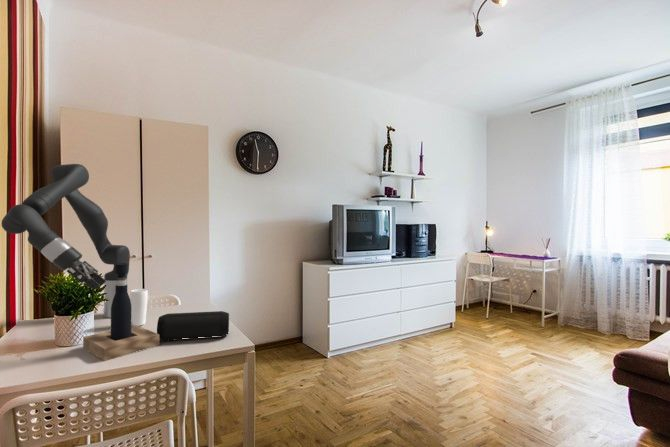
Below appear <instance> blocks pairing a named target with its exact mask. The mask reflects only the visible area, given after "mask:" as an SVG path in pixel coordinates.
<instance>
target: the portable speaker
mask: <svg viewBox="0 0 670 447" xmlns="http://www.w3.org/2000/svg"><path fill="white" fill-rule="evenodd" d="M229 331H230V313H229V312H225V311H222V310H218V311H216V310H215V311H197V312H196V311H195V312H179V313H177V312H176V313H175V312H173V313H166V314H163V315H160V316H159V317H158V319H157V324H156V333H157V334H159V340H163V341H175V340H174V339H182V338H198V337H212V336H223V335H225V336H227V335H229V333H228V332H229ZM226 334H227V335H226ZM223 337H224V336H223Z"/></svg>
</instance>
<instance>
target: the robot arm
mask: <svg viewBox="0 0 670 447" xmlns="http://www.w3.org/2000/svg"><path fill="white" fill-rule="evenodd" d="M89 173H90V172H89V171H88V169H87V168H86V166H84V165H82V164H80V163H68V164H59V165H54V166H53V167H52V168H51V169H50V177H51V179H52V181H53V183H50V184H48V185H46V186H43V187H41V188H39V189H37V190H35V191H34V192H32V194H31V193H30V195H29V196H27V197H26V198H25V199H24V200H23V201H22V203H19V204H15V205H13V206H12V207H11V208H10V209H9V210H8V212H7V213H6V214H5V215H4V216H3V217H2V220H1V227H2V229H3V230H4V231H5V232H7V233H9V234H12V235H17V234H22V233H25V232H27V233H28V236H27V242H28V243H29V244H30V245H31V246H32V247H34V248H35V249H36V250H37V251H39V252H40V253H41V254H42V255H43V256H44V257H45V259H47V260H48V261H49V262H51V263H52V264H54V266H56V267H57V268H59V269H60V270H61V271H66V272H67V273H68V274H69V275H71V276H72V277H73V278H74V279H75V280H77V281H78V282H79V283H81V284H82V283H83V284H85V285H87V286H88V287H90V288H91V290H93V291H95V290H97V289H98V288H99V287H101V286H103V287H104V286H105V285H107V286H106V287H105V289H104V290H103V294H104V293H107V294H106V295H105V298H107V299H110V300H109V301H106V302H104V301H103V317H104V318H108V319H109V318H110V319H111V305H112V301H113V298H114V296H115V286H116V285H117V284H116V283H117V282H116V281H117V280H122V279H117V278H118V274H116V273H115V264H120V263H127V264H128V273H126V278H125V280H126V281H127V282H126V283H127V284H128V275H129V270H130V261H131V253H130V250H129V247H128V246H126V245H120V244H112V243H111V242H110V240H109V238H108V236H107V232H108V228H109V220H108V218H107V217H106V216H107V215H106V214H105V213H104V210H103V209H102V208H101V206H99V205H98V204H97V203H95V202H94V201H93V200H91V199H90V198H88V197H87V196H85V195H84V194H83V193H81V191H80V190H79V189H80V188H81V187H83V186H84V187H85V185H87V183H88V182H89V181H90V180H89V179H90V174H89ZM64 198H65V199H66V201H67V202H68V203H69V205H70V206H71V208H72V209H73V211H74V212H75V215H76V216H77V218H78V220H79V221H80V223H81V225H82V227H83V229H85V231H86V232H87V234H88V236H89V238H90V239H91V241H92V243H93V246H94V248H95V250H96V252H97V255H98V257H99V258H100V261H102V262H103V263H104V264H105V265H112V266H113V267H112V268H113V269H112V270H110V271H108V272H105V274H104V276H103V277H102V276H101V275H100V274H99V271H98V269H95V267H94V266H92V265H91V264H90V263H89V262H87V261H85V260H84V261H81V260H80V259H81V258H82V257H83V254H82V253H81V252H79V250H78V249H76V248H75V247H73V246H72V245H71V244H70V243H69V242H67V241H66V240H65V239H64V238H61V237H60V236H59V235H58V234H56V232H54V231H53V230H52V229H51V228H50V227H49V225H48V224H47V223H46V221H45V220H44V218H43V217H42V215H44V214H45V213H47V212H48V211H49V210H50V209H51V208H52V207H54V206H55V205H56V204H57V203H58V202H60V201H61V200H62V199H64ZM128 295H129V296H130V294H129V293H128Z"/></svg>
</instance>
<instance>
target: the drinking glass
mask: <svg viewBox="0 0 670 447" xmlns="http://www.w3.org/2000/svg"><path fill="white" fill-rule="evenodd" d="M129 293H130V294H129V297H130V301H131V306H132V307H131V326H132V325H133V326H135V325H137V326H138V325H142V326H144V325H145V324H146V323H147V321H146V320H147V312H148V311H147V310H148V301H149V291H148V289H146V288H136V289H132V290H130V292H129ZM143 324H144V325H143Z"/></svg>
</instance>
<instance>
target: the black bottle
mask: <svg viewBox="0 0 670 447" xmlns="http://www.w3.org/2000/svg"><path fill="white" fill-rule="evenodd" d="M115 273H116V274H118V278H117V279H122V280H117V281H116V282H117V283H116V284H117V285H116V286H115V296H114V298H113V301H112V305H111V318H110V331H111V339H112V340H114V341H117V340H121V339H125V338H129V337H131V326H132V318H131V307H132V306H131V301H130V294H129V292H128V280H127V281H126V280H125V278H126V273H128V274H129V272H128V264H127V263H120V264H115ZM126 282H127V283H126ZM128 294H129V295H128Z"/></svg>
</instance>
